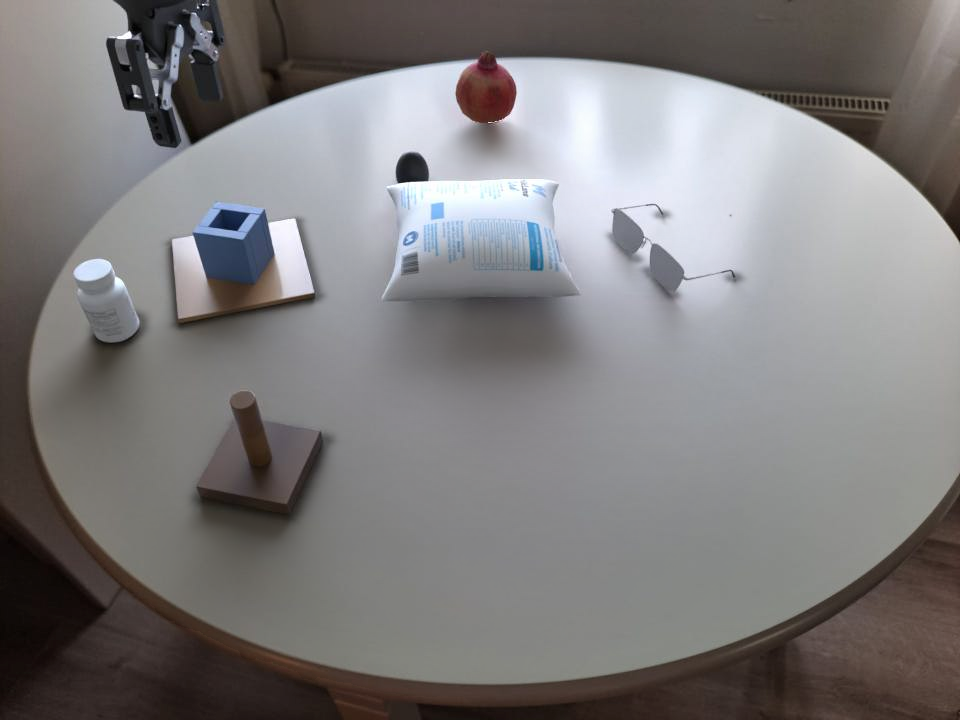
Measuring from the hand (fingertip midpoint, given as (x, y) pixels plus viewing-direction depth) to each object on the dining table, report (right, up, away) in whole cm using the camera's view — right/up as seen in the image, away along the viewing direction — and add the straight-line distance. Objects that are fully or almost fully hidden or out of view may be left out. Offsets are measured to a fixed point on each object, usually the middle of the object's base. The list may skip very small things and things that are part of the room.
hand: (191, 121), depth 74 cm
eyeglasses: (+48, -10, +17) cm, 52 cm away
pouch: (+26, -12, +15) cm, 33 cm away
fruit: (+27, +11, +37) cm, 47 cm away
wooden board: (0, -12, +15) cm, 19 cm away
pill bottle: (-10, -19, +8) cm, 23 cm away
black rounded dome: (+18, -1, +26) cm, 32 cm away
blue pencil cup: (0, -12, +14) cm, 18 cm away
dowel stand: (+8, -31, -4) cm, 33 cm away
